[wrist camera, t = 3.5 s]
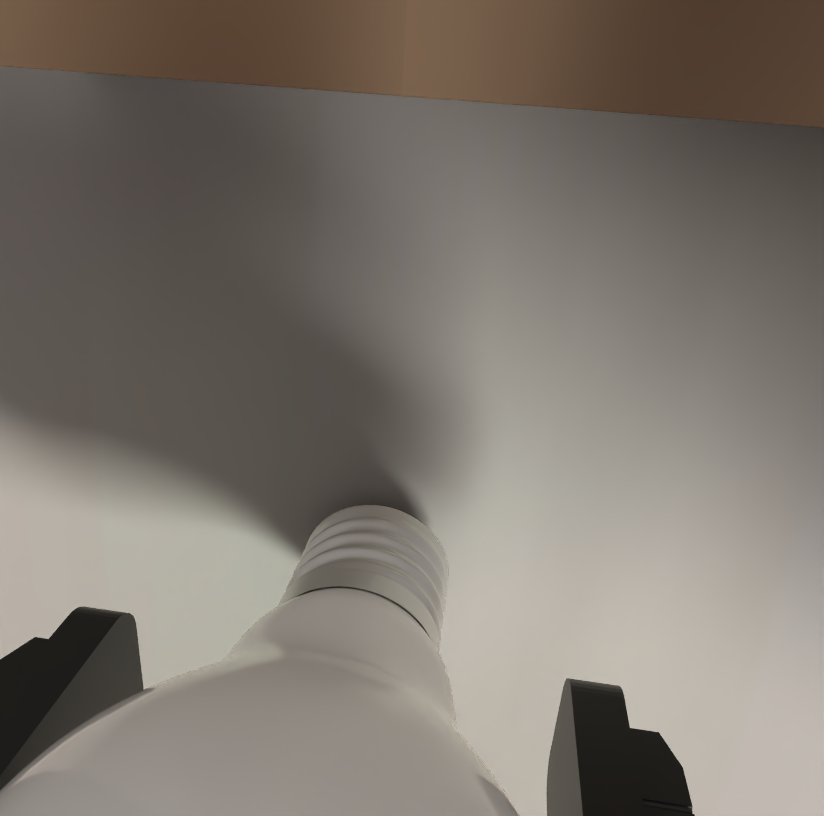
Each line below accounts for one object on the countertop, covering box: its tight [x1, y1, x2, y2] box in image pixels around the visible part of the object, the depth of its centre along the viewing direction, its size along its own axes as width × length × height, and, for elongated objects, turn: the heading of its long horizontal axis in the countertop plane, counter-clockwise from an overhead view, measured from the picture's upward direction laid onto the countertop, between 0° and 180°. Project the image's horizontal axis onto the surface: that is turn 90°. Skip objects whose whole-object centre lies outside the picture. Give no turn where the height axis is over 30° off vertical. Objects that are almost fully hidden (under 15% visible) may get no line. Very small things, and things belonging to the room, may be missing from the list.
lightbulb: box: [0, 505, 520, 816], centre depth 9 cm, size 6×6×11 cm
